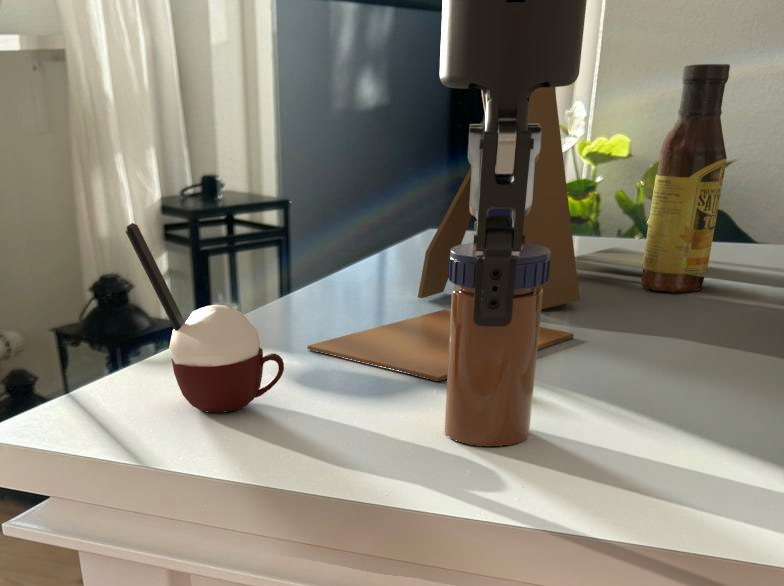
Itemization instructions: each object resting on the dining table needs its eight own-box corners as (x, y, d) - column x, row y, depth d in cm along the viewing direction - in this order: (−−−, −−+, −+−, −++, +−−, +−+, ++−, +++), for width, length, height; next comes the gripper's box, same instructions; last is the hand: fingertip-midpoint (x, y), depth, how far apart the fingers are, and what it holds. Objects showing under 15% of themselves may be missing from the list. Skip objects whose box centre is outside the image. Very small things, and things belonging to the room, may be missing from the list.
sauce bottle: (695, 297, 100) (734, 64, 90) (631, 291, 103) (663, 64, 93) (710, 285, 105) (750, 62, 95) (649, 279, 108) (681, 63, 98)
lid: (431, 285, 60) (433, 253, 59) (471, 267, 65) (473, 238, 64) (527, 294, 58) (530, 261, 57) (562, 276, 62) (565, 245, 61)
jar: (472, 414, 69) (483, 251, 64) (544, 430, 66) (561, 260, 61) (428, 436, 66) (436, 264, 60) (502, 453, 63) (517, 274, 57)
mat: (444, 313, 96) (444, 309, 95) (573, 338, 87) (574, 333, 87) (307, 350, 85) (307, 345, 85) (438, 382, 76) (438, 377, 76)
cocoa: (295, 402, 72) (291, 221, 66) (246, 427, 68) (237, 235, 62) (186, 385, 77) (173, 213, 71) (134, 407, 72) (115, 226, 66)
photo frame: (545, 267, 114) (571, 4, 102) (578, 311, 95) (614, -5, 83) (412, 268, 115) (421, 8, 103) (419, 311, 96) (431, -1, 84)
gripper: (447, -8, 60) (434, 287, 69) (438, -21, 48) (423, 340, 57) (577, -12, 59) (547, 289, 68) (602, -26, 47) (562, 343, 56)
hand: (491, 311), depth 62 cm, fingers closed on lid, 5 cm apart
